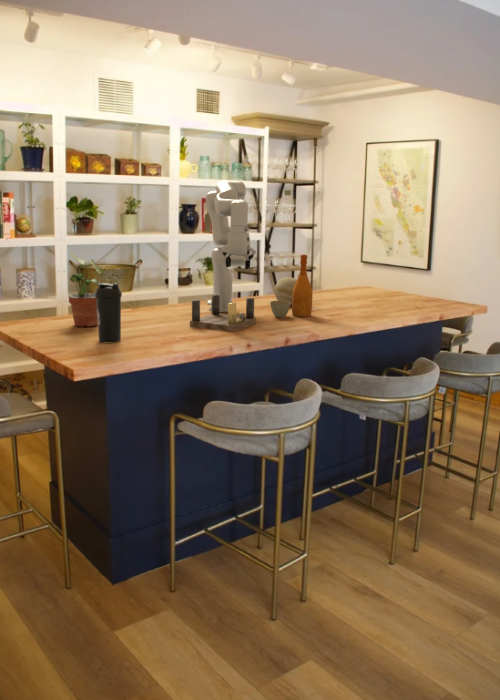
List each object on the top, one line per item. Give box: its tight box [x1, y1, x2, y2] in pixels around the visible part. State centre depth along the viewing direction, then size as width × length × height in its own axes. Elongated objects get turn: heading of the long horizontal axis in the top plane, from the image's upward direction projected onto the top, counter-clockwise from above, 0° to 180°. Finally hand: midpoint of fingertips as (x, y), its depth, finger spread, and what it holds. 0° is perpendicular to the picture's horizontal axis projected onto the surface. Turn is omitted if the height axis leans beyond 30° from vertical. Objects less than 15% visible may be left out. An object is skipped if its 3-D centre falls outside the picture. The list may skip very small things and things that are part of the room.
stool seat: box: [189, 294, 257, 333], centre depth 295 cm, size 22×22×12 cm
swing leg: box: [227, 302, 246, 325], centre depth 287 cm, size 13×4×9 cm, turn 155°
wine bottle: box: [291, 253, 313, 318], centre depth 318 cm, size 10×10×30 cm
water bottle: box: [94, 282, 122, 343], centre depth 258 cm, size 10×10×23 cm
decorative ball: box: [273, 276, 297, 306], centre depth 349 cm, size 15×15×15 cm
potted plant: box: [68, 252, 106, 328], centre depth 284 cm, size 16×15×35 cm
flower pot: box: [270, 300, 292, 318], centre depth 317 cm, size 10×10×7 cm
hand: (237, 267), depth 294 cm, fingers open, 9 cm apart
